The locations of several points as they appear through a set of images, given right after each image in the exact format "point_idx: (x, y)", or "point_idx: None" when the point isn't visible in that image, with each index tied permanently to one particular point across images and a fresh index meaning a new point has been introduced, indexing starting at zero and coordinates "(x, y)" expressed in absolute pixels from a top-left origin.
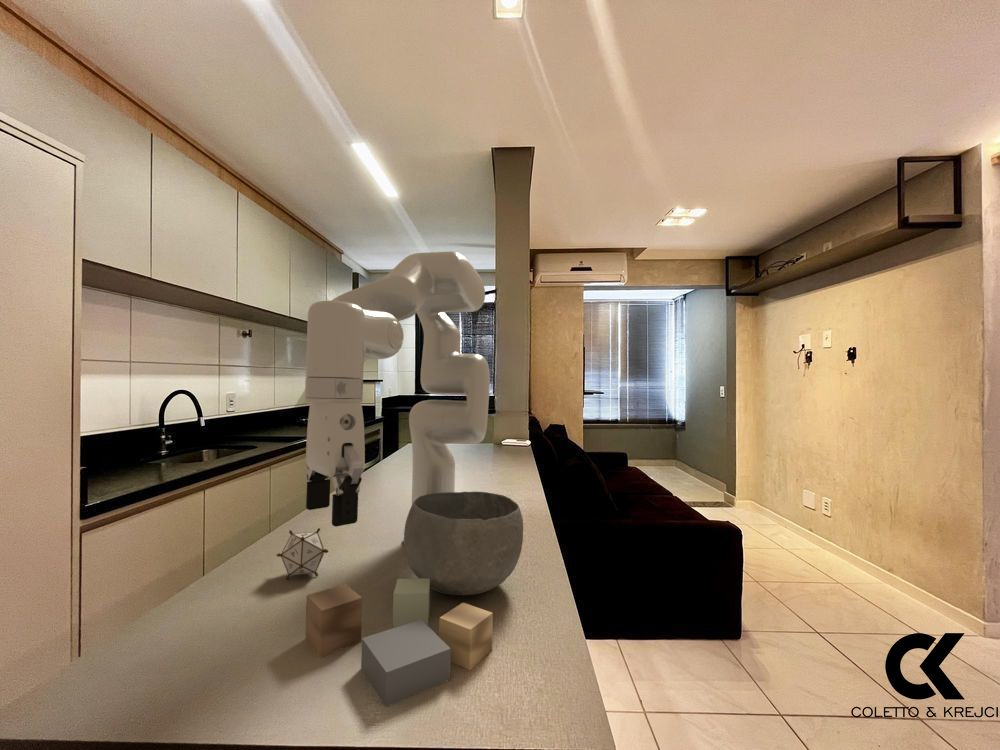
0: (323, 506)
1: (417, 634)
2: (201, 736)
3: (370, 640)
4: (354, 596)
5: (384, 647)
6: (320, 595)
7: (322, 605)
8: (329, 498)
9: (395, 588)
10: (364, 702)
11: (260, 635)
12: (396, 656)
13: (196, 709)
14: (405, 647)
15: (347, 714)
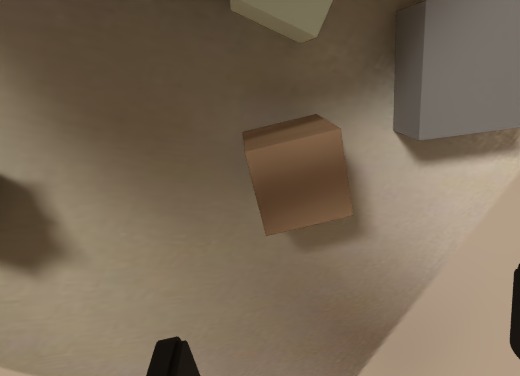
0: (191, 361)
1: (474, 32)
2: (406, 304)
3: (435, 127)
4: (325, 144)
5: (472, 109)
6: (280, 210)
7: (331, 211)
8: (169, 371)
9: (288, 21)
10: (469, 141)
11: (215, 260)
12: (513, 96)
13: (356, 313)
14: (500, 72)
15: (475, 166)
